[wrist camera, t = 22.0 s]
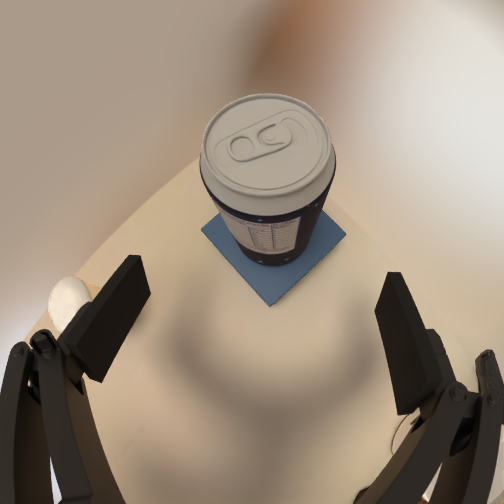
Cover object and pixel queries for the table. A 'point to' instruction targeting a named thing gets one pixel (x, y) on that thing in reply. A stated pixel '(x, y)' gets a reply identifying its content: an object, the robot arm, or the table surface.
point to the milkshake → (69, 300)
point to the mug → (500, 481)
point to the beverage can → (268, 173)
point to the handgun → (489, 374)
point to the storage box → (274, 277)
